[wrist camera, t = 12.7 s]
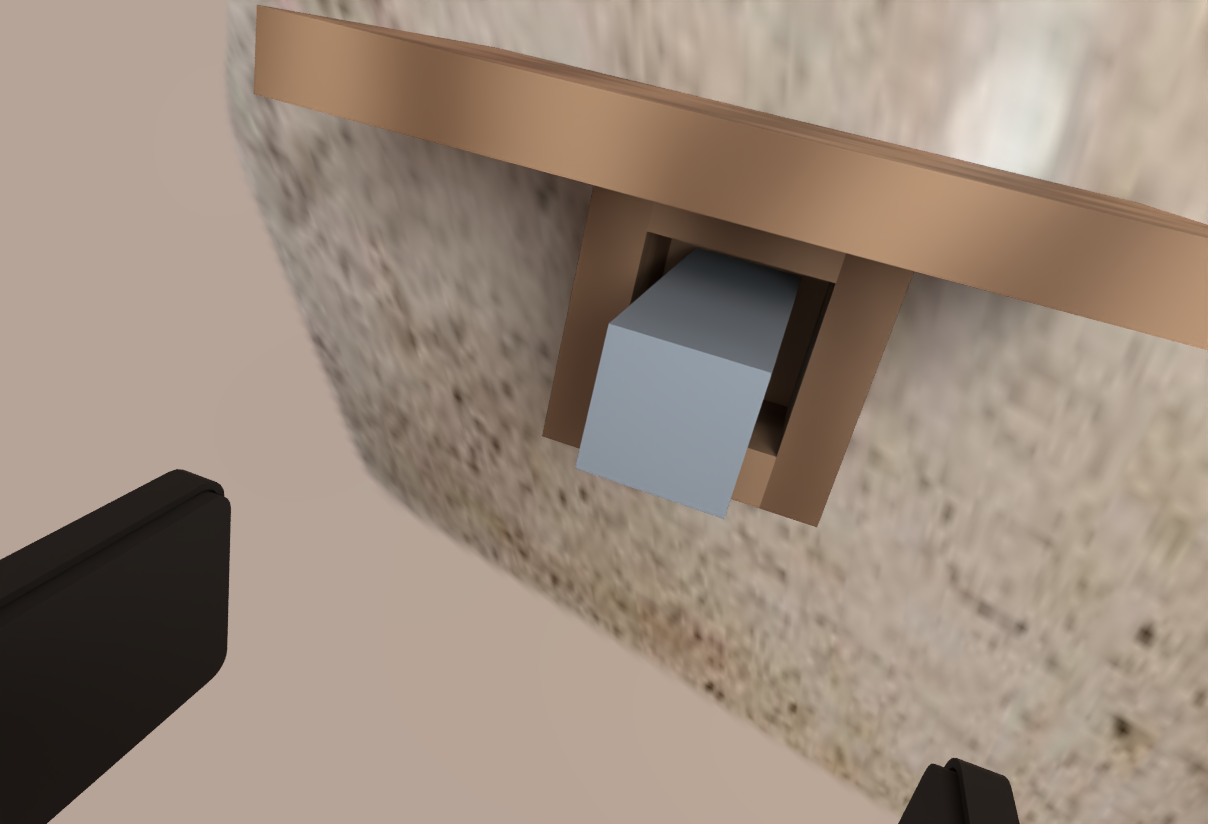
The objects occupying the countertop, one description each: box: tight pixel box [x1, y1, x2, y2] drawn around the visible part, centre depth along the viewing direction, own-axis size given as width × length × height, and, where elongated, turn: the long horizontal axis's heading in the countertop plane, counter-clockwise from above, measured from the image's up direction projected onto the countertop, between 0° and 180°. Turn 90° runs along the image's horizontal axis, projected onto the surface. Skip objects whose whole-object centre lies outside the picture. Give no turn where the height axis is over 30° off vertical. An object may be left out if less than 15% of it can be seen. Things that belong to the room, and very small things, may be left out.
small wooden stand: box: [254, 5, 1208, 527], centre depth 26 cm, size 24×12×14 cm, turn 77°
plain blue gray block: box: [575, 248, 802, 519], centre depth 25 cm, size 4×4×12 cm
